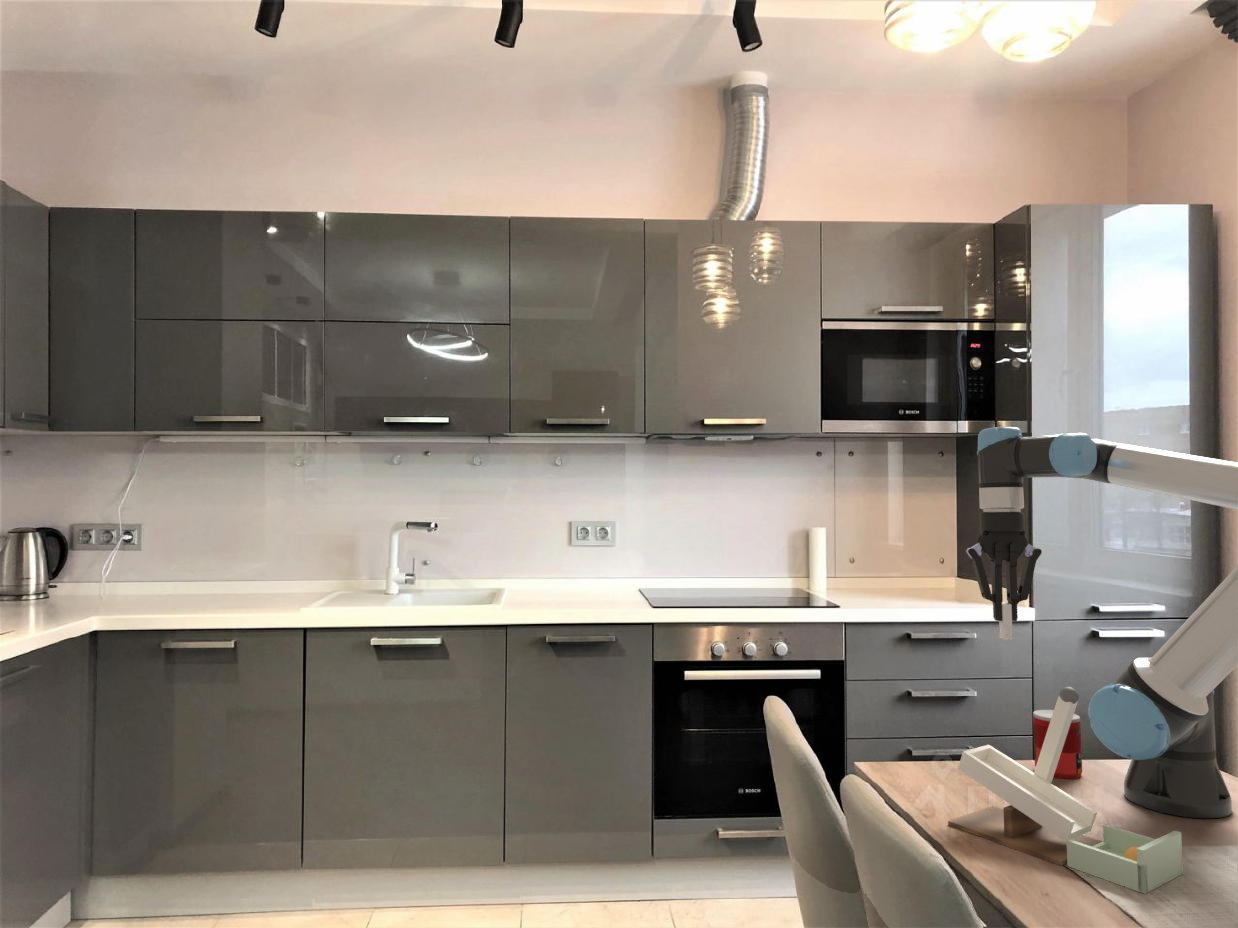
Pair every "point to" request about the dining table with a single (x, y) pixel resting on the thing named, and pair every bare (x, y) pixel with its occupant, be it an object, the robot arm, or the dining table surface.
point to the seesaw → (1035, 777)
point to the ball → (1131, 853)
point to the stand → (1018, 832)
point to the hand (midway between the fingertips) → (1006, 638)
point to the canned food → (1071, 751)
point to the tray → (1108, 861)
